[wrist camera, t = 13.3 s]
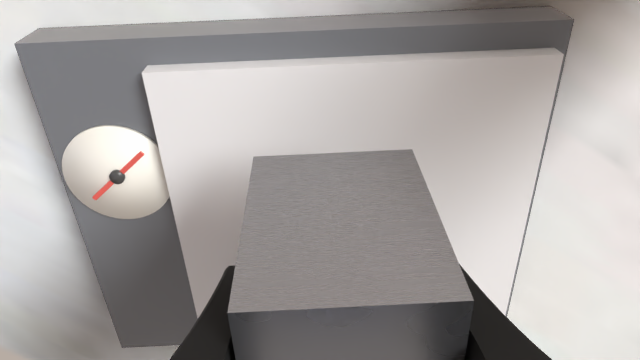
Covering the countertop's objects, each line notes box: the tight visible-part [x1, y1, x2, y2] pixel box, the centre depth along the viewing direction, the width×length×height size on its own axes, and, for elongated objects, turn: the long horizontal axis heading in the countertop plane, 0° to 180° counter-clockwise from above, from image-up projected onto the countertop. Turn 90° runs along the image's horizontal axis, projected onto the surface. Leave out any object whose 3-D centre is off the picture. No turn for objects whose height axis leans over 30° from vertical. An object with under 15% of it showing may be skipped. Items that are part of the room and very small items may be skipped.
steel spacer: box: [227, 149, 474, 360], centre depth 13 cm, size 4×4×6 cm
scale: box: [15, 6, 574, 348], centre depth 23 cm, size 20×16×3 cm
